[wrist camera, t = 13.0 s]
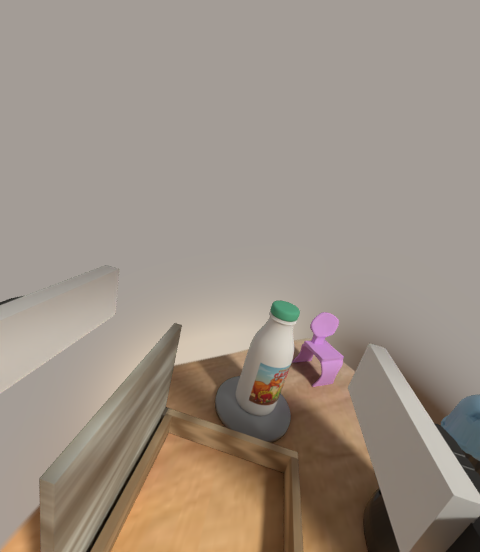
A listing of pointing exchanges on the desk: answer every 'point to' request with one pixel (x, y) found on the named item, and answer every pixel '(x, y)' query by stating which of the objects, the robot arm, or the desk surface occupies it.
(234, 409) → the pad
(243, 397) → the milk bottle
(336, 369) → the toy chair
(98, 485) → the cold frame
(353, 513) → the desk surface
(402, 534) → the robot arm
